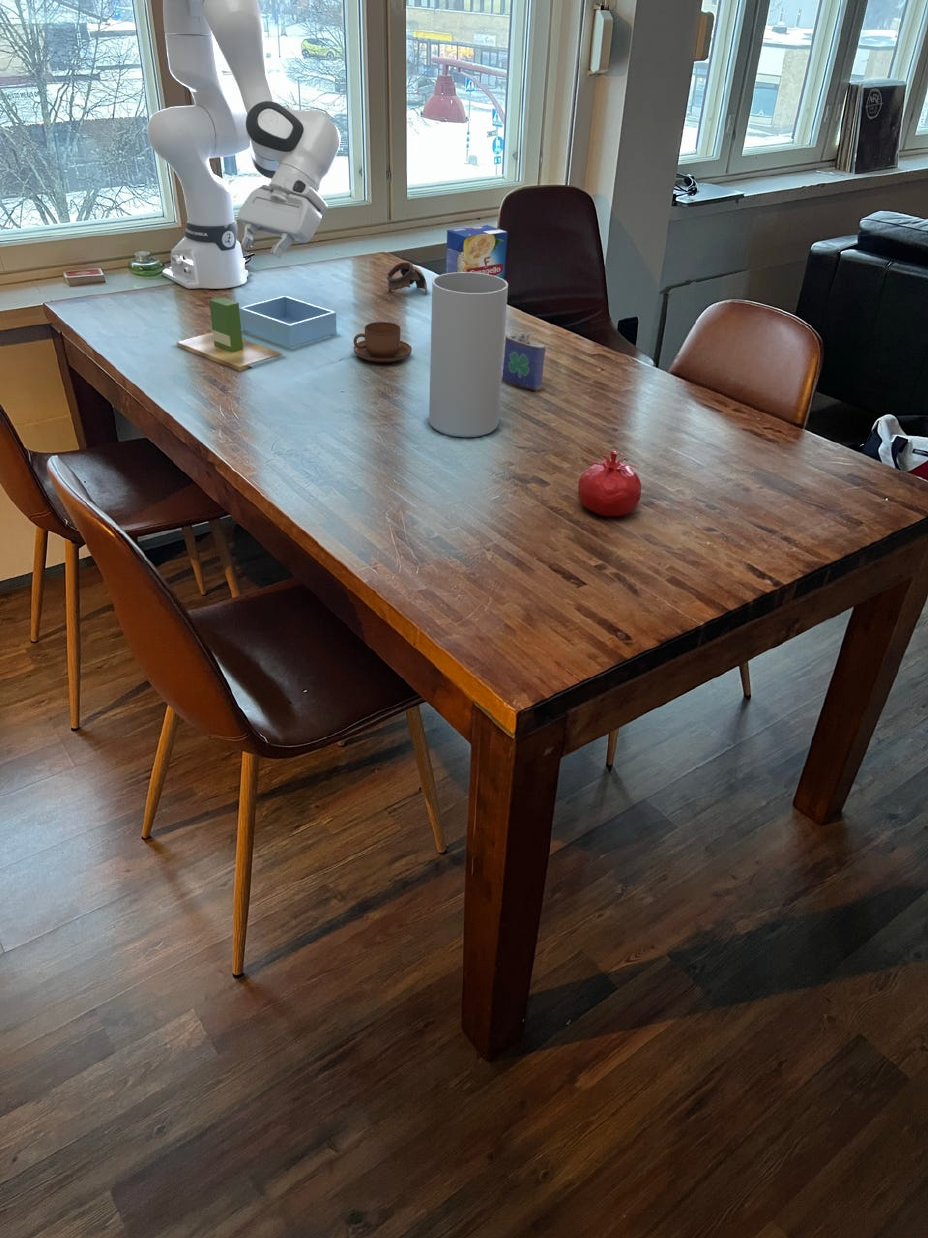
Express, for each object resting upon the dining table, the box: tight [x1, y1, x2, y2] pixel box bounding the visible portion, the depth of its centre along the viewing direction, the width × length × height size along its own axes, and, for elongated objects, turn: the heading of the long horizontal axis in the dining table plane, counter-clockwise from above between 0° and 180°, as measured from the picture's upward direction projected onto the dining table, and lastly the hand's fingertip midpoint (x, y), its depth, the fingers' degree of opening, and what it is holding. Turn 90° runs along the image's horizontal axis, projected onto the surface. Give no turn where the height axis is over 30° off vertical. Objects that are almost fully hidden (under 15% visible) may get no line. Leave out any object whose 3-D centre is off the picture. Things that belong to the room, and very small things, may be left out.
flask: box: [501, 331, 546, 393], centre depth 181 cm, size 9×3×11 cm, turn 50°
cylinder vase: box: [428, 272, 509, 438], centre depth 160 cm, size 12×12×25 cm
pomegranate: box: [577, 450, 642, 518], centre depth 141 cm, size 10×10×9 cm
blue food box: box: [445, 224, 508, 280], centre depth 202 cm, size 7×11×22 cm, turn 127°
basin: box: [239, 295, 338, 348], centre depth 201 cm, size 16×13×5 cm
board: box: [176, 331, 283, 372], centre depth 192 cm, size 20×11×1 cm, turn 51°
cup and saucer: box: [353, 321, 412, 363], centre depth 192 cm, size 12×12×6 cm
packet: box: [208, 296, 243, 353], centre depth 189 cm, size 6×3×10 cm, turn 51°
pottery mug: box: [386, 261, 429, 295], centre depth 232 cm, size 12×10×8 cm
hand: (259, 251), depth 188 cm, fingers open, 8 cm apart
